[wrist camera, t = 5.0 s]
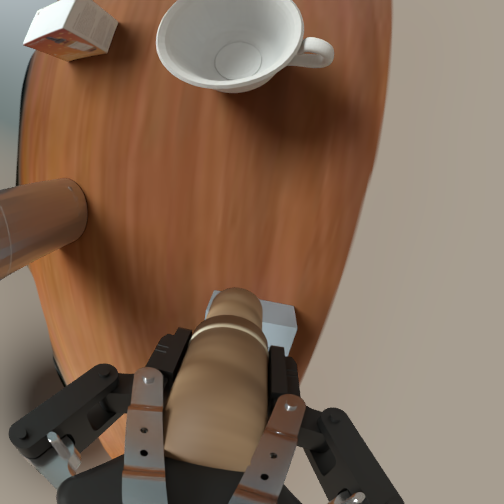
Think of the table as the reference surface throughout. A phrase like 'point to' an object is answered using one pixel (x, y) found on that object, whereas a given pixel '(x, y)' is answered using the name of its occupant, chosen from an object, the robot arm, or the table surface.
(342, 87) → the table surface
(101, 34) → the small box
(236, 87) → the teacup
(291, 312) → the hole block
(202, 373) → the walnut peg
